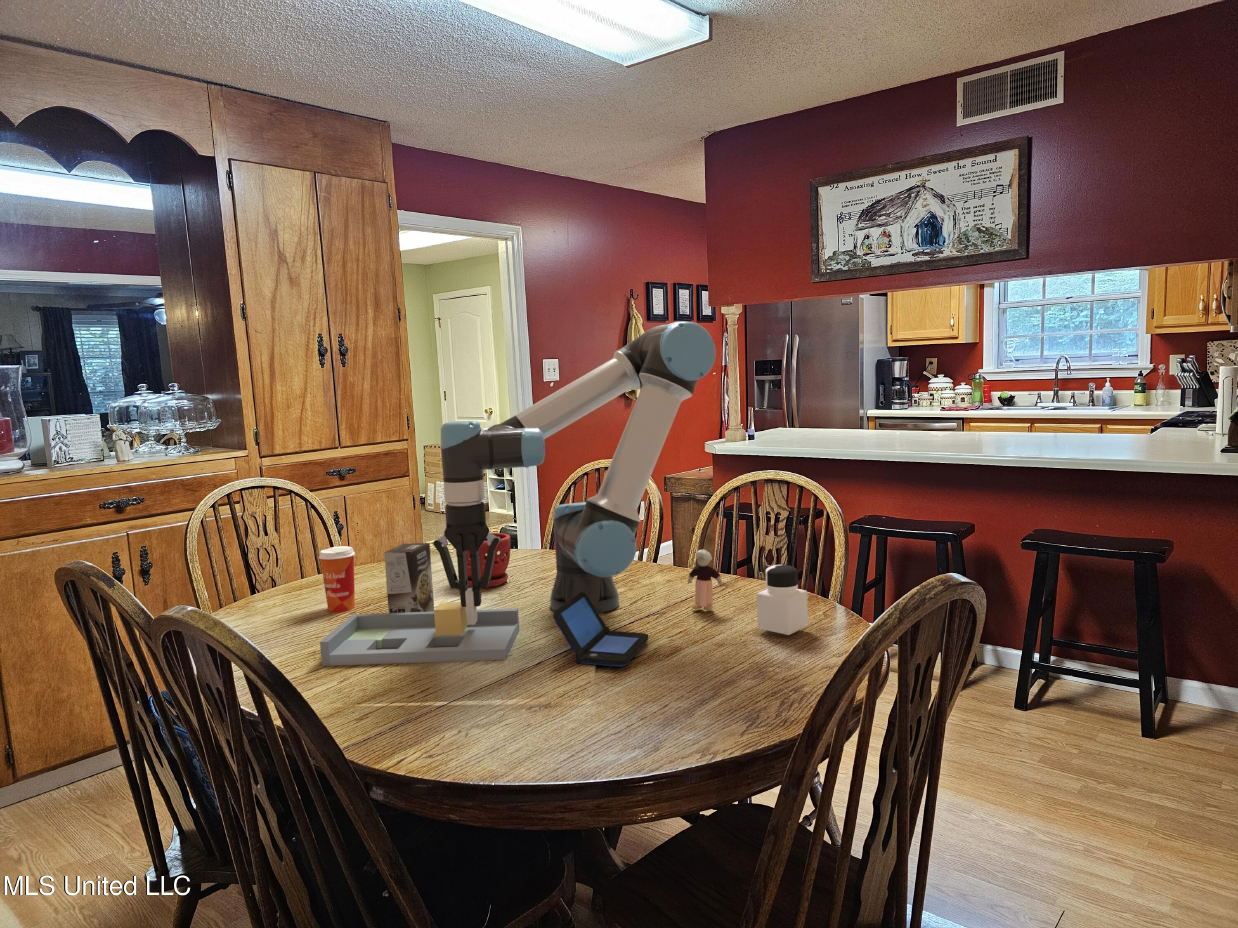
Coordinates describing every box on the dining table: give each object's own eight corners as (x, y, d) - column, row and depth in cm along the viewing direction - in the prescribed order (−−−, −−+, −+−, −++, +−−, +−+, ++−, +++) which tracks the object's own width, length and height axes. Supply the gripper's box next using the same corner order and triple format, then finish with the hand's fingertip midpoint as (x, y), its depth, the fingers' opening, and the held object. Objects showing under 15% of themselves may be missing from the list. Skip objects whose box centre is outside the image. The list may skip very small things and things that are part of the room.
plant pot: (508, 589, 192) (505, 540, 190) (453, 591, 192) (450, 542, 191) (516, 575, 205) (513, 529, 203) (465, 577, 205) (462, 531, 204)
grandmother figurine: (686, 610, 169) (683, 551, 167) (688, 605, 173) (686, 547, 171) (722, 611, 167) (720, 551, 166) (724, 605, 171) (722, 547, 169)
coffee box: (417, 628, 165) (411, 551, 163) (388, 627, 166) (382, 551, 164) (436, 615, 174) (430, 542, 172) (408, 614, 175) (403, 542, 173)
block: (467, 626, 158) (465, 601, 158) (461, 634, 153) (459, 609, 153) (442, 627, 158) (440, 602, 158) (435, 635, 153) (433, 610, 153)
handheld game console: (624, 669, 138) (622, 617, 137) (553, 663, 142) (550, 613, 141) (650, 639, 152) (648, 592, 151) (585, 635, 157) (582, 589, 156)
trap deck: (519, 630, 161) (518, 608, 160) (505, 659, 144) (503, 635, 144) (354, 635, 162) (352, 614, 161) (322, 665, 145) (319, 641, 145)
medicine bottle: (808, 625, 155) (807, 565, 154) (789, 635, 150) (787, 573, 149) (776, 619, 160) (775, 560, 159) (756, 628, 155) (755, 568, 154)
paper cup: (316, 614, 178) (310, 552, 177) (340, 604, 185) (334, 545, 184) (344, 616, 175) (338, 554, 174) (367, 606, 182) (362, 546, 181)
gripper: (502, 498, 156) (508, 615, 159) (436, 500, 157) (443, 617, 159) (495, 504, 149) (502, 627, 151) (426, 506, 149) (434, 629, 152)
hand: (472, 622), depth 155 cm, fingers closed
